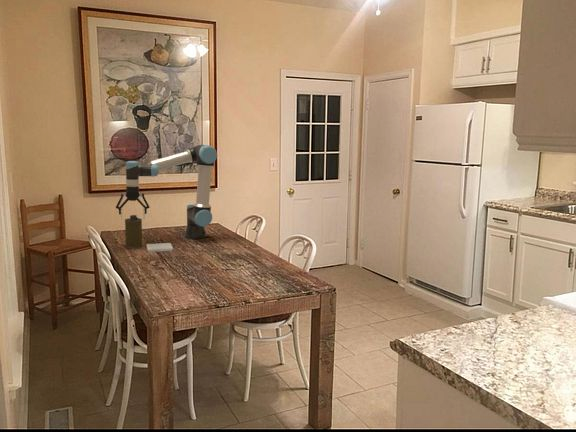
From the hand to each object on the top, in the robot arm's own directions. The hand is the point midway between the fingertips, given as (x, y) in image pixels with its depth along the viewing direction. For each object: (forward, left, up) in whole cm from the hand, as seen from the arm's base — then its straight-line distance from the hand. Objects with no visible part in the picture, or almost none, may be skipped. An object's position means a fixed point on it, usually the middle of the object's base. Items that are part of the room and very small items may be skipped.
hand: (132, 219), depth 309 cm
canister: (0, 0, -18) cm, 18 cm away
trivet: (-15, +10, -18) cm, 25 cm away
